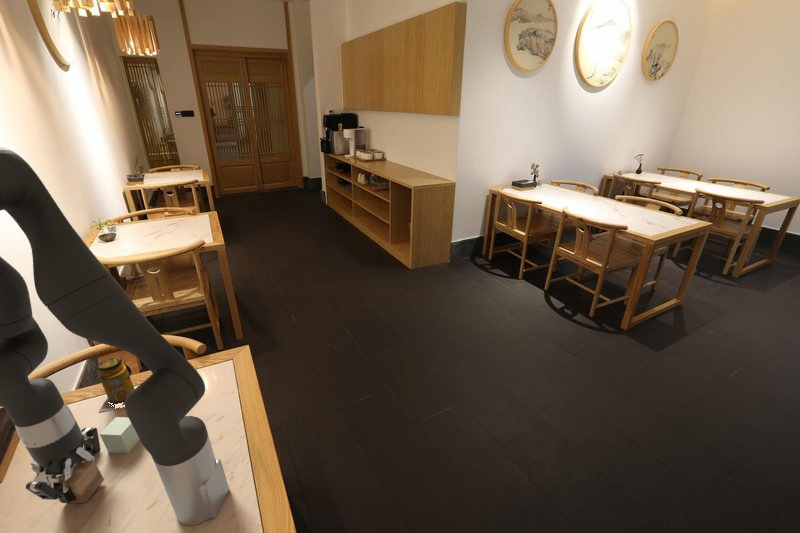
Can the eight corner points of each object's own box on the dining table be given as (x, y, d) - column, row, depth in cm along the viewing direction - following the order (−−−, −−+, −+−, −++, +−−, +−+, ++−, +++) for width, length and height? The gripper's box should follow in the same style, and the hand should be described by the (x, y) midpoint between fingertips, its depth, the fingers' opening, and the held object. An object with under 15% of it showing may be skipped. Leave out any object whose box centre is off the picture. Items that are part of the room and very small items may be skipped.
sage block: (143, 435, 91) (135, 417, 88) (128, 453, 86) (120, 435, 84) (123, 434, 91) (115, 417, 89) (108, 452, 87) (99, 434, 84)
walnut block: (104, 479, 79) (94, 460, 77) (85, 502, 75) (74, 483, 72) (81, 479, 80) (71, 460, 77) (61, 502, 75) (50, 482, 73)
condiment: (141, 385, 107) (128, 352, 102) (129, 407, 99) (115, 373, 94) (112, 390, 105) (98, 356, 100) (98, 412, 97) (82, 377, 92)
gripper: (32, 464, 63) (70, 524, 70) (98, 401, 76) (124, 457, 83) (-9, 462, 63) (32, 522, 71) (63, 400, 76) (92, 456, 84)
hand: (82, 487), depth 77 cm, fingers closed on walnut block, 5 cm apart
